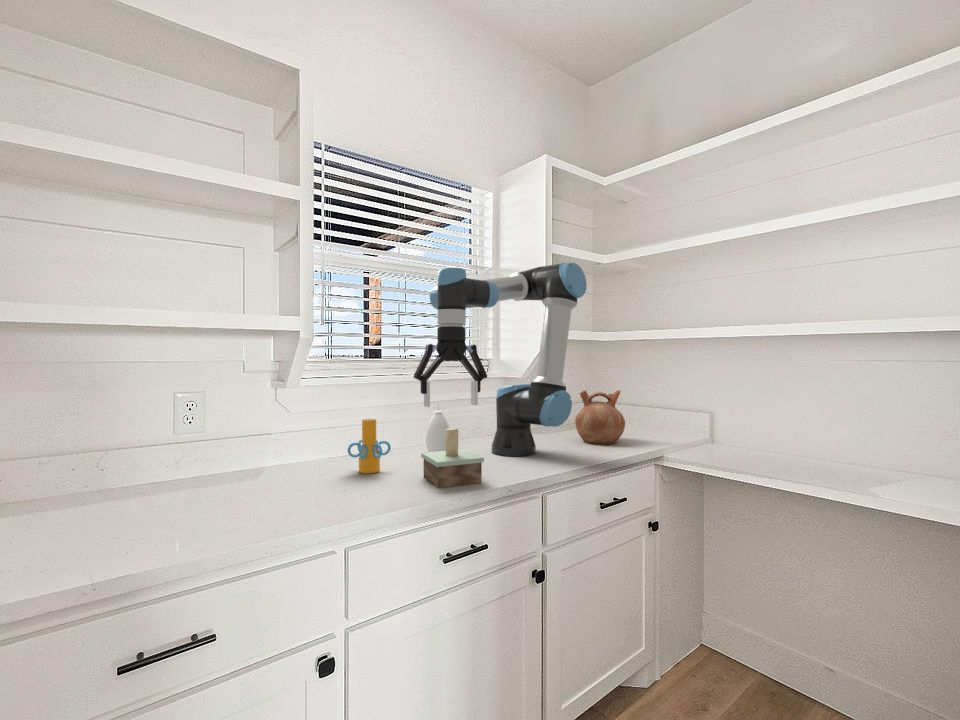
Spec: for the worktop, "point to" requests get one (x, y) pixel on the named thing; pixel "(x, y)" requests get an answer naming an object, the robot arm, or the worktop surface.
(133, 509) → the worktop surface
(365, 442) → the cylinder
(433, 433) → the sauce bottle
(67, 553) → the worktop surface
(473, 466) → the box
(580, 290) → the robot arm
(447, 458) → the lid
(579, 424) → the jug
